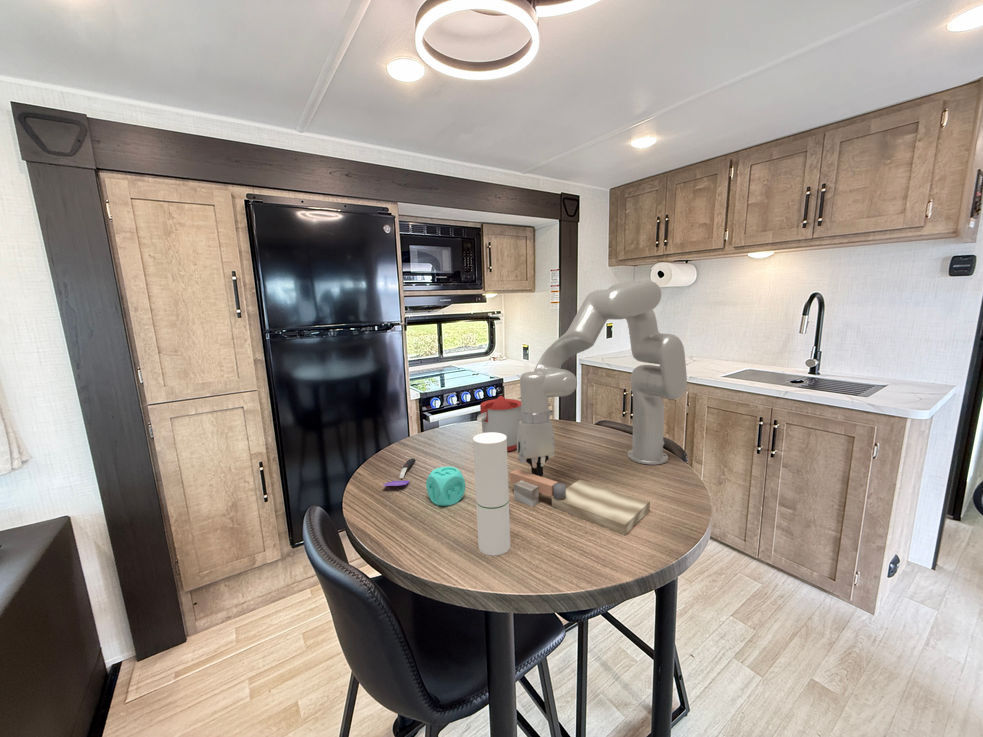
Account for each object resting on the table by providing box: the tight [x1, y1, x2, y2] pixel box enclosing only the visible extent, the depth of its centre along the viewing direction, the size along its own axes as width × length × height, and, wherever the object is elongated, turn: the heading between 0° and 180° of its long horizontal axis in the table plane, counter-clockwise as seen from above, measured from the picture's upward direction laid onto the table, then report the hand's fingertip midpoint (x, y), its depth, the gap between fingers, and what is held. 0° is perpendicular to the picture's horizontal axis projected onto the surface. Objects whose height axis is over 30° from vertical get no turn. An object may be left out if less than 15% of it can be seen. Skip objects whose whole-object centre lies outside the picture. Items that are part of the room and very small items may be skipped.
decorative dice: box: [425, 465, 466, 507], centre depth 108 cm, size 8×8×8 cm
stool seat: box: [513, 479, 651, 536], centre depth 102 cm, size 17×30×4 cm, turn 46°
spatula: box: [382, 457, 416, 487], centre depth 126 cm, size 24×7×2 cm, turn 177°
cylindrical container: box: [472, 432, 511, 557], centre depth 85 cm, size 7×7×25 cm
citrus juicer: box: [476, 395, 522, 452], centre depth 145 cm, size 16×17×20 cm
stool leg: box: [509, 468, 567, 499], centre depth 106 cm, size 17×3×3 cm, turn 48°
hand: (537, 478), depth 111 cm, fingers closed
